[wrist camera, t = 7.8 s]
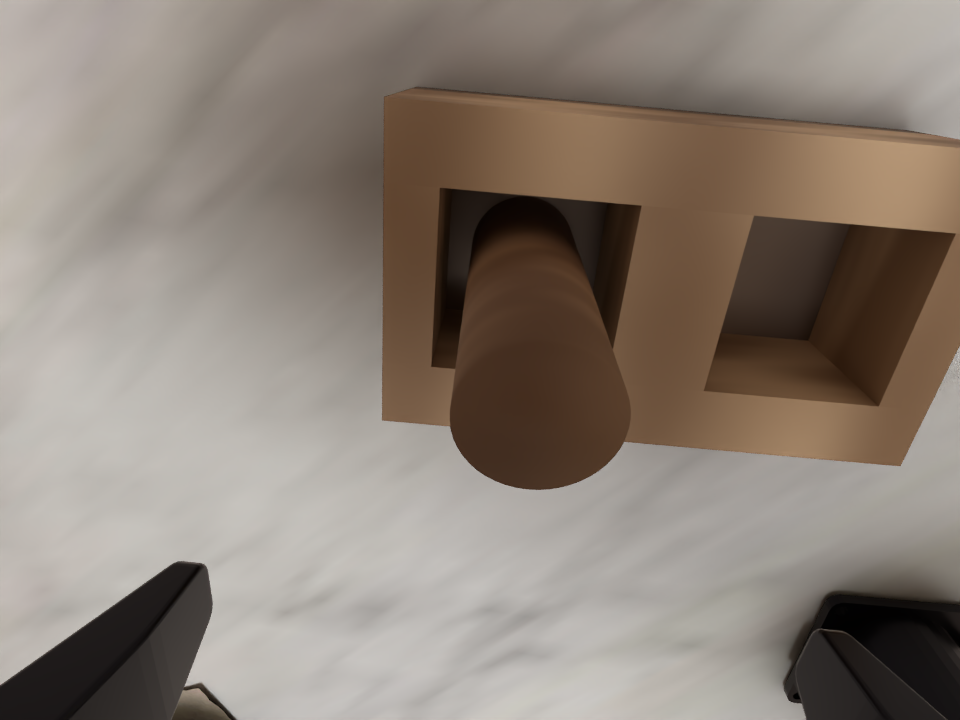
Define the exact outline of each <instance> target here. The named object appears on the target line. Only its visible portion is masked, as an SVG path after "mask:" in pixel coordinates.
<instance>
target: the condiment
mask: <svg viewBox="0 0 960 720" xmlns="http://www.w3.org/2000/svg"><path fill="white" fill-rule="evenodd" d="M172 720H231V719H230V718H228V716H227V715H226V713H225V712H224V711H223V710H222V709H220V708H219V707H218V706H217V705H215V704H214V703H212V702H211V701H210V700H209V699H208V698H207V696H206V695H205V694H204V693H203V692H202V691H201V690H200V689H199V688H196V689H191V690H187V691H185V690H183V691H182V694H181V697H180V699H179V702H178V704H177V707H176V710H175V712H174V715H173V717H172Z"/></svg>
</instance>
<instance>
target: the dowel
mask: <svg viewBox="0 0 960 720" xmlns="http://www.w3.org/2000/svg"><path fill="white" fill-rule="evenodd" d="M630 421H631V406H630V400H629V396H628V393H627V389H626V387H625V384H624V381H623V378H622V375H621V372H620V369H619V366H618V364H617V361H616V358H615V355H614V352H613V349H612V346H611V344H610V341H609V338H608V335H607V332H606V329H605V326H604V323H603V321H602V318H601V315H600V312H599V309H598V306H597V303H596V300H595V298H594V295H593V292H592V289H591V286H590V283H589V280H588V278H587V275H586V272H585V269H584V266H583V263H582V260H581V257H580V255H579V252H578V249H577V246H576V243H575V240H574V237H573V235H572V232H571V229H570V226H569V224H568V222H567V220H566V219H565V217H564V216H563V215H562V214H561V212H560V211H559V210H558V209H556V208H555V207H554V206H552V205H551V204H549V203H548V202H545V201H543V200H541V199H537V198H533V197H515V198H510V199H507V200H504V201H502V202H500V203H498V204H496V205H495V206H493V207H492V208H491V209H490V210H488V211H487V212H486V213H485V215H484V216H483V217H482V218H481V220H480V221H479V223H478V225H477V227H476V229H475V232H474V236H473V241H472V249H471V256H470V263H469V271H468V278H467V286H466V293H465V301H464V308H463V316H462V323H461V331H460V338H459V346H458V353H457V361H456V368H455V376H454V383H453V390H452V398H451V405H450V427H451V432H452V435H453V439H454V441H455V443H456V445H457V447H458V449H459V451H460V452H461V454H462V455H463V456H464V458H465V459H466V460H467V461H468V462H469V463H470V464H471V465H472V466H473V467H474V468H475V469H477V470H478V471H479V472H481V473H482V474H484V475H485V476H487V477H489V478H491V479H493V480H495V481H497V482H500V483H502V484H505V485H508V486H512V487H516V488H522V489H533V490H542V489H553V488H560V487H564V486H568V485H571V484H574V483H577V482H579V481H582V480H584V479H586V478H588V477H590V476H591V475H593V474H594V473H596V472H598V471H599V470H600V469H602V468H603V467H604V466H605V465H606V464H608V462H609V461H610V460H611V459H612V458H613V457H614V456H615V455H616V453H617V452H618V451H619V449H620V448H621V446H622V444H623V442H624V441H625V438H626V436H627V433H628V430H629V426H630Z"/></svg>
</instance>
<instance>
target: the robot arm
mask: <svg viewBox="0 0 960 720" xmlns="http://www.w3.org/2000/svg"><path fill="white" fill-rule="evenodd" d="M212 605H213V603H212V595H211V588H210V581H209V575H208V570H207V567H206V566H205V565H204V564H202V563H194V562H185V561H179V562H176V563H173V564H172V565H170V566H169V567H167V568H166V569H164V570H163V571H161V572H160V573H159V574H157V575H156V576H154V577H153V578H152V579H150V580H149V581H147V582H146V583H144V584H143V585H142V586H140V587H139V588H137V589H136V590H135V591H133V592H132V593H130V594H129V595H127V596H126V597H125V598H123V599H122V600H120V601H119V602H118V603H116V604H115V605H113V606H112V607H110V608H109V609H108V610H106V611H105V612H103V613H102V614H101V615H99V616H98V617H96V618H95V619H93V620H92V621H91V622H89V623H88V624H86V625H85V626H84V627H82V628H81V629H79V630H78V631H76V632H75V633H74V634H72V635H71V636H69V637H68V638H67V639H65V640H64V641H62V642H61V643H59V644H58V645H57V646H55V647H54V648H52V649H51V650H50V651H48V652H47V653H45V654H44V655H42V656H41V657H40V658H38V659H37V660H35V661H34V662H33V663H31V664H30V665H28V666H27V667H25V668H24V669H23V670H21V671H20V672H18V673H17V674H16V675H14V676H13V677H11V678H10V679H8V680H7V681H6V682H4V683H3V684H1V685H0V720H172V717H173V715H174V712H175V710H176V707H177V704H178V702H179V699H180V697H181V694H182V691H183V689H184V686H185V683H186V681H187V678H188V676H189V673H190V670H191V668H192V665H193V662H194V660H195V657H196V654H197V652H198V649H199V647H200V644H201V641H202V639H203V636H204V633H205V631H206V628H207V625H208V623H209V620H210V617H211V613H212ZM784 691H785V693H786V696H787V698H788V700H789V701H791V702H794V703H802V705H803V709H804V713H805V716H806V720H960V605H950V604H938V603H927V602H916V601H904V600H893V599H882V598H870V597H859V596H848V595H835V596H832V597H830V598H828V599H827V600H826V601H825V603H824V605H823V607H822V609H821V611H820V613H819V616H818V618H817V620H816V622H815V624H814V626H813V628H812V630H811V632H810V634H809V636H808V638H807V640H806V643H805V645H804V647H803V649H802V651H801V653H800V655H799V657H798V659H797V661H796V663H795V665H794V667H793V670H792V672H791V674H790V676H789V678H788V680H787V682H786V684H785V686H784Z"/></svg>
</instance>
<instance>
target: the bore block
mask: <svg viewBox="0 0 960 720" xmlns="http://www.w3.org/2000/svg"><path fill="white" fill-rule="evenodd" d="M515 197H533V198H537V199H541V200H543V201H545V202H548V203H549V204H551V205H552V206H554V207H555V208H556V209H558V210H559V211H560V212H561V214H562V215H563V216H564V217H565V219H566V220H567V222H568V224H569V226H570V229H571V232H572V235H573V237H574V240H575V243H576V246H577V249H578V252H579V255H580V257H581V260H582V263H583V266H584V269H585V272H586V275H587V278H588V280H589V283H590V286H591V289H592V292H593V295H594V298H595V300H596V303H597V306H598V309H599V312H600V315H601V318H602V321H603V323H604V326H605V329H606V332H607V335H608V338H609V341H610V344H611V346H612V349H613V352H614V355H615V358H616V361H617V364H618V366H619V369H620V372H621V375H622V378H623V381H624V384H625V387H626V389H627V393H628V396H629V400H630V406H631V421H630V426H629V430H628V433H627V436H626V438H625V441H624V442H633V443H644V444H655V445H667V446H678V447H689V448H701V449H712V450H723V451H734V452H746V453H757V454H768V455H780V456H791V457H802V458H814V459H825V460H836V461H847V462H859V463H870V464H881V465H893V466H901V464H902V462H903V460H904V458H905V456H906V454H907V452H908V450H909V448H910V446H911V443H912V441H913V439H914V437H915V435H916V433H917V431H918V429H919V427H920V425H921V423H922V421H923V419H924V417H925V415H926V413H927V411H928V409H929V407H930V405H931V403H932V401H933V399H934V397H935V395H936V393H937V391H938V388H939V386H940V384H941V382H942V380H943V378H944V376H945V374H946V372H947V370H948V368H949V366H950V364H951V362H952V360H953V358H954V356H955V354H956V352H957V350H958V348H959V346H960V140H959V139H953V138H947V137H942V136H936V135H931V134H925V133H919V132H914V131H908V130H896V129H885V128H874V127H862V126H851V125H840V124H829V123H817V122H806V121H795V120H784V119H772V118H761V117H750V116H739V115H727V114H716V113H705V112H693V111H682V110H671V109H660V108H648V107H637V106H626V105H615V104H603V103H592V102H581V101H569V100H558V99H547V98H536V97H524V96H513V95H502V94H491V93H479V92H468V91H457V90H446V89H434V88H423V87H414V88H411V89H408V90H405V91H401V92H398V93H395V94H392V95H388V96H385V97H384V193H383V365H382V420H384V421H396V422H407V423H418V424H430V425H441V426H450V405H451V398H452V390H453V383H454V376H455V368H456V361H457V353H458V346H459V338H460V331H461V323H462V316H463V308H464V301H465V293H466V286H467V278H468V271H469V263H470V256H471V249H472V241H473V236H474V232H475V229H476V227H477V225H478V223H479V221H480V220H481V218H482V217H483V216H484V215H485V213H486V212H487V211H488V210H490V209H491V208H492V207H493V206H495V205H496V204H498V203H500V202H502V201H504V200H507V199H510V198H515Z"/></svg>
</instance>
